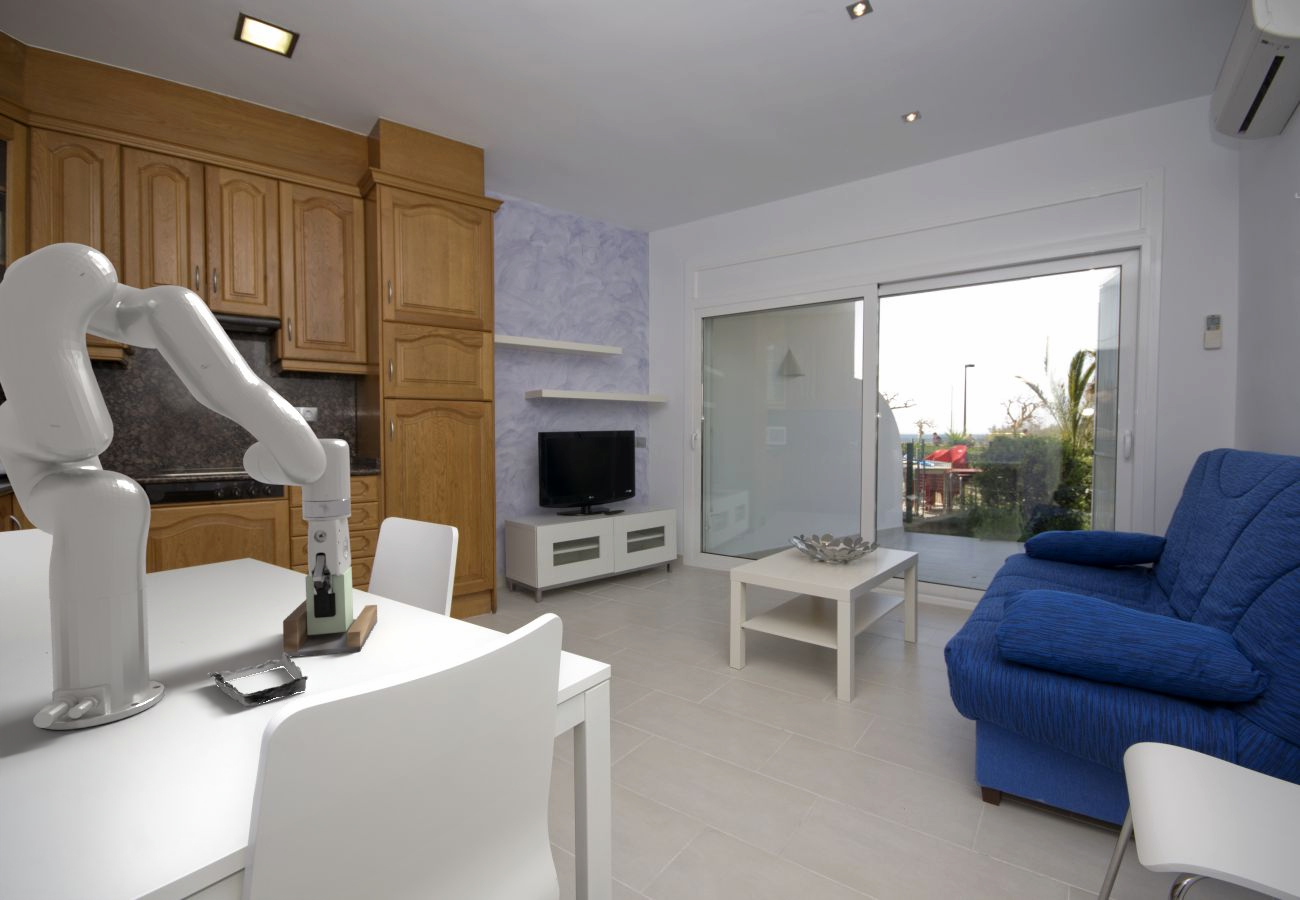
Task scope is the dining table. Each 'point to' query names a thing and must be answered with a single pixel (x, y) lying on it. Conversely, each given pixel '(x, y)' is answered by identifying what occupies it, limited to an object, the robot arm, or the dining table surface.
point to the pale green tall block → (342, 603)
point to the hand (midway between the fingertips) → (330, 610)
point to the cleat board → (326, 643)
